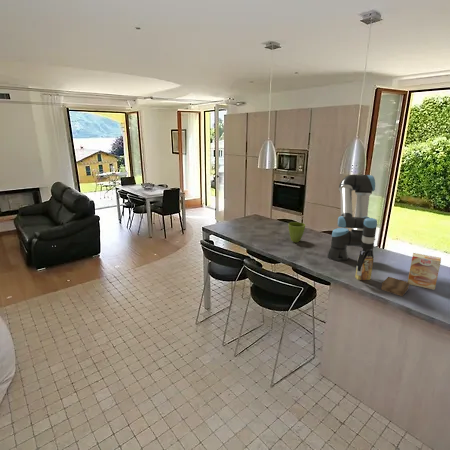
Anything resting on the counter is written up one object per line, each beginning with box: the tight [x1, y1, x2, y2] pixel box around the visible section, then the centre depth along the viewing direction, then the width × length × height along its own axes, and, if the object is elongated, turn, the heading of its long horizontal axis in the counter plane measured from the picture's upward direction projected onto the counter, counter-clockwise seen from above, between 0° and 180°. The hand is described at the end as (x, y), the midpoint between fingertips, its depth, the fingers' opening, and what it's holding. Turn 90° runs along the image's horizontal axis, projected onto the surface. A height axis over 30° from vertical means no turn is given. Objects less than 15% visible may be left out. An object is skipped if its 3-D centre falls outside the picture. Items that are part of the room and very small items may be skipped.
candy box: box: [354, 256, 374, 281], centre depth 201 cm, size 9×4×15 cm, turn 93°
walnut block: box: [381, 276, 410, 297], centre depth 188 cm, size 12×12×5 cm
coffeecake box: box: [407, 252, 442, 291], centre depth 192 cm, size 15×7×20 cm, turn 56°
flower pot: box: [287, 221, 306, 243], centre depth 273 cm, size 15×15×16 cm
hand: (363, 272), depth 202 cm, fingers open, 13 cm apart
